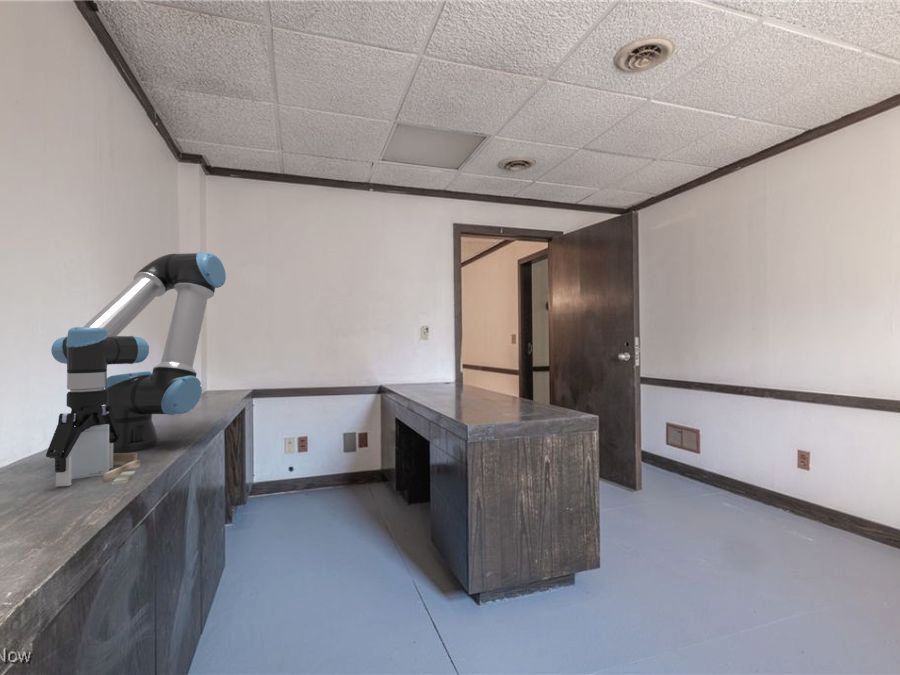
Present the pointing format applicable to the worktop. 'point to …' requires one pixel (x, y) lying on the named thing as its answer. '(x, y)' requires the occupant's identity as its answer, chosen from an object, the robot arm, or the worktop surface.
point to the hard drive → (91, 453)
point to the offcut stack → (124, 477)
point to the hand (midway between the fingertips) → (86, 476)
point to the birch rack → (123, 459)
